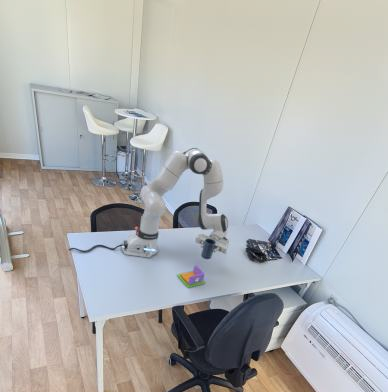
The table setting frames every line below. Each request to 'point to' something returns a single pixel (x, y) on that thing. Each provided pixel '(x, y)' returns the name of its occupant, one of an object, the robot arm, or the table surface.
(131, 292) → the table surface
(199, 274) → the dollhouse room
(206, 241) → the pen cup
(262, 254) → the cable
